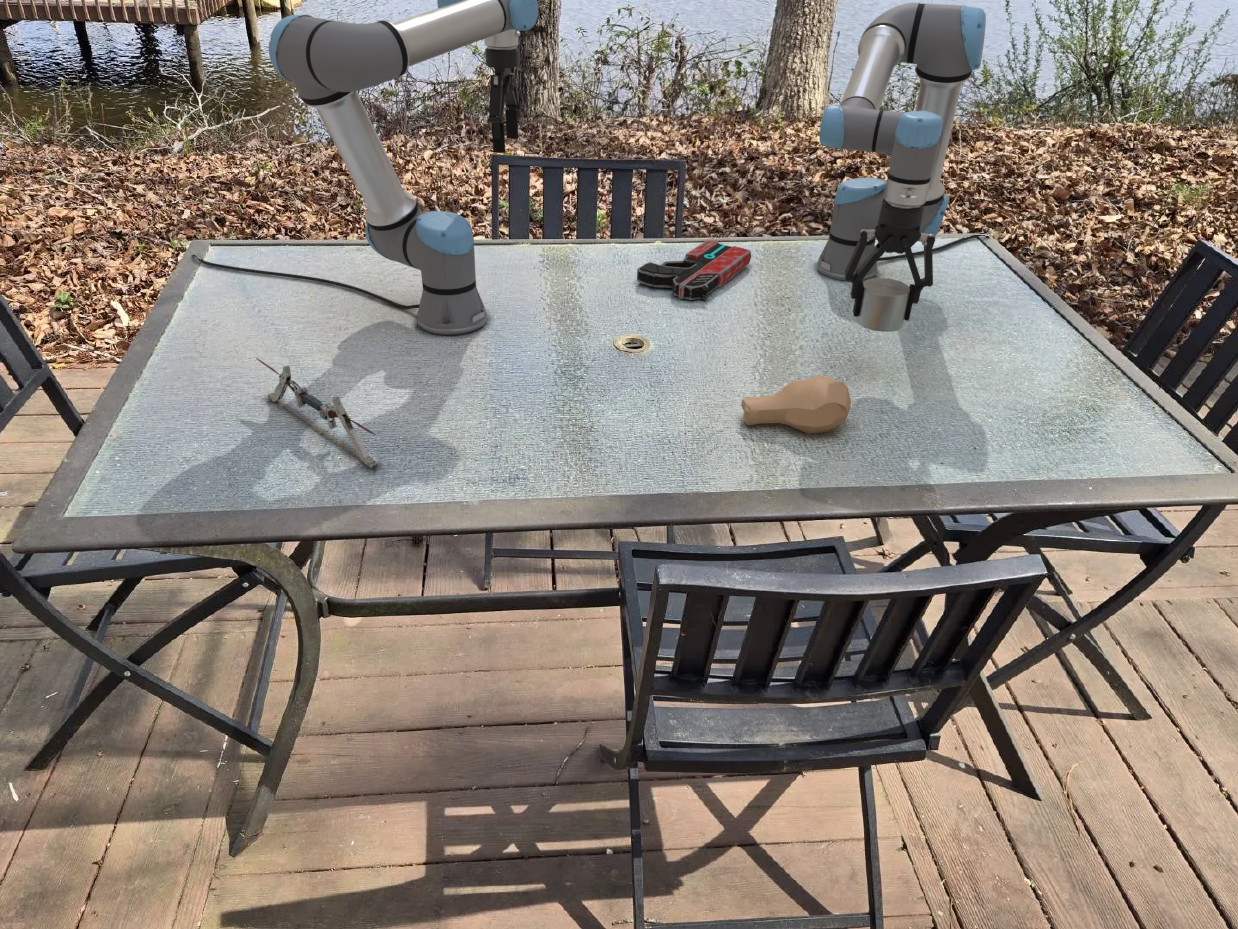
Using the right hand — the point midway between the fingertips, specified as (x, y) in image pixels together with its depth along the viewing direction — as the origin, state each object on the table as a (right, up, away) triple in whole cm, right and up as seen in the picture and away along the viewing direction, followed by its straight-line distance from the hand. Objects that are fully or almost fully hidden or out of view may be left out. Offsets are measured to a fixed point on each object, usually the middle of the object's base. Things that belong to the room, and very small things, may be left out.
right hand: (880, 315), depth 174 cm
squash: (-19, -22, -10) cm, 31 cm away
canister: (0, -1, +1) cm, 1 cm away
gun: (-32, +18, +50) cm, 62 cm away
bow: (-106, -24, -16) cm, 109 cm away
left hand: (-79, +47, +35) cm, 98 cm away
